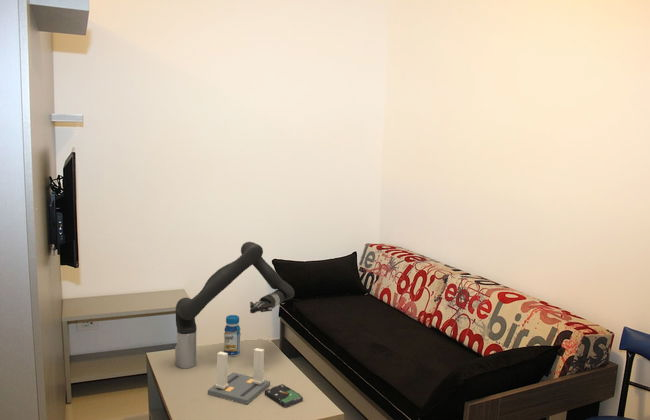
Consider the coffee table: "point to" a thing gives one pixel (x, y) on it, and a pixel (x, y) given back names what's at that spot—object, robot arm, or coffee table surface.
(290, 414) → the coffee table surface
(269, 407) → the coffee table surface
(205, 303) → the robot arm
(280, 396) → the disk drive
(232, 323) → the beverage bottle
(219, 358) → the beige square pillar
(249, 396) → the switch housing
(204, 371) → the coffee table surface
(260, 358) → the beige tall rectangular block
